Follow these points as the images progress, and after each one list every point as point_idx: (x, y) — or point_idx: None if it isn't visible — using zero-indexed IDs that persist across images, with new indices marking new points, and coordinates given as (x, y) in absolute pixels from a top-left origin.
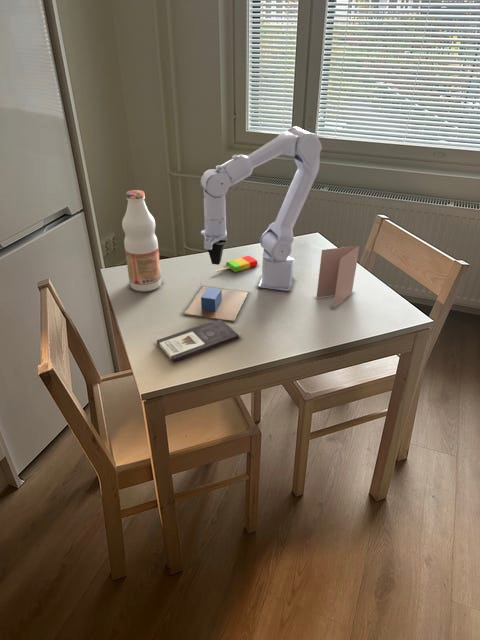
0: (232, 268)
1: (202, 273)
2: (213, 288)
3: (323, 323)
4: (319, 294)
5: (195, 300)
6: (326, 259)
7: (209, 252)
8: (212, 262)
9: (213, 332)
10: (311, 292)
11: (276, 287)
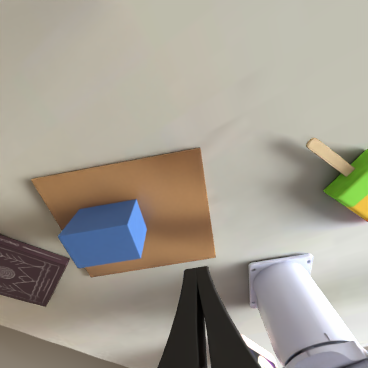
0: (339, 182)
1: (300, 92)
2: (130, 241)
3: None
4: (245, 342)
5: (111, 171)
6: None
7: (164, 354)
8: (183, 279)
9: (12, 275)
10: (258, 325)
11: (254, 291)
